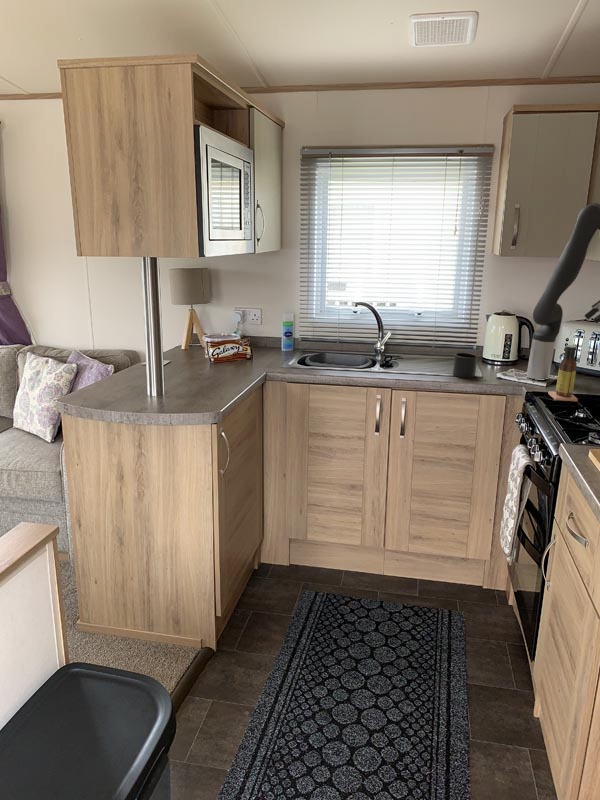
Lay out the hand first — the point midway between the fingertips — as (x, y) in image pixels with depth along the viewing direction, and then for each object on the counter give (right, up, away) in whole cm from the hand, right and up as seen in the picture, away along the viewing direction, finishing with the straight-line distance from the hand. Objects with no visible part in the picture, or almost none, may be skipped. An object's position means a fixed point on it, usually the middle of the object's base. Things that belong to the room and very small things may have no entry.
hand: (590, 319), depth 237 cm
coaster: (-9, -30, +5) cm, 32 cm away
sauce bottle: (-9, -30, +5) cm, 31 cm away
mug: (-41, -20, +32) cm, 56 cm away
